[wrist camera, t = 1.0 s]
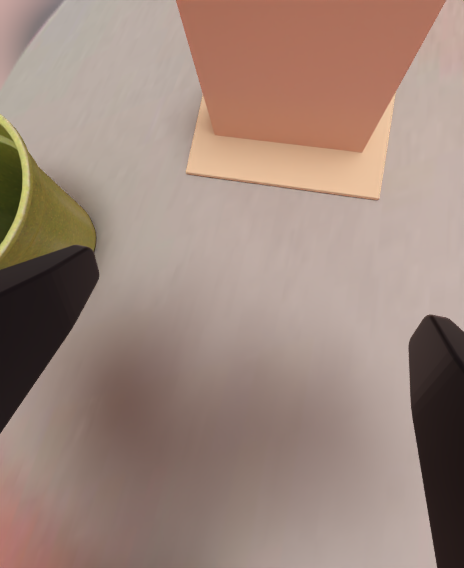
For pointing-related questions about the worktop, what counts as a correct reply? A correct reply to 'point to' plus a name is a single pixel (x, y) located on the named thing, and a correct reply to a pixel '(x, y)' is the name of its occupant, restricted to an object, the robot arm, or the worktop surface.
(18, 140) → the plant pot
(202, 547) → the worktop surface
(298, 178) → the cork mat
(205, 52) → the tile
